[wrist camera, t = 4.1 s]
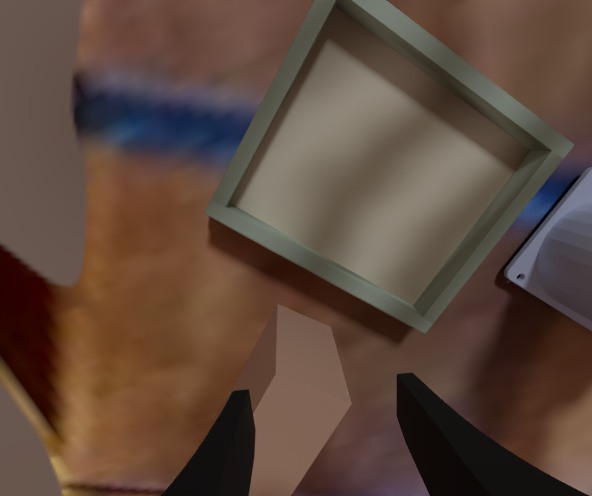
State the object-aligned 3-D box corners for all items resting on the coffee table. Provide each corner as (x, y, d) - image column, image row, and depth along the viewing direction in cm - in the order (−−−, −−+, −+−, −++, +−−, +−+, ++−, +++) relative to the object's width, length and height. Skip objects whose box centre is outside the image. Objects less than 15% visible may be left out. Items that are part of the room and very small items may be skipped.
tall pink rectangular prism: (330, 326, 22) (351, 404, 15) (267, 431, 24) (262, 538, 18) (277, 303, 21) (275, 374, 15) (218, 414, 24) (193, 518, 17)
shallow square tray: (543, 137, 19) (581, 136, 16) (405, 319, 22) (420, 340, 19) (332, -22, 16) (341, -52, 14) (210, 212, 19) (199, 221, 17)
